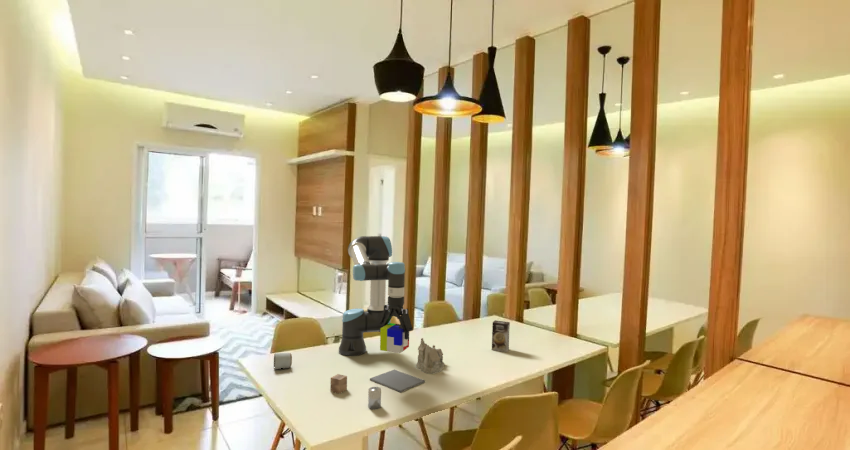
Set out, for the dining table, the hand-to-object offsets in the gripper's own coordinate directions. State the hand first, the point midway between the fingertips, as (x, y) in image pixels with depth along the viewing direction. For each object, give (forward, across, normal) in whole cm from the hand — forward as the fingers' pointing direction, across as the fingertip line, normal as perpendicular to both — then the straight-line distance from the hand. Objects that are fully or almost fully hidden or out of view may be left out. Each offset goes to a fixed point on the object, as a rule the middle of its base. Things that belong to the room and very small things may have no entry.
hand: (395, 342), depth 194 cm
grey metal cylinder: (+18, +13, -23) cm, 32 cm away
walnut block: (+18, -10, -24) cm, 31 cm away
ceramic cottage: (+19, 0, +27) cm, 33 cm away
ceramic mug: (+19, -53, -26) cm, 62 cm away
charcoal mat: (+18, 0, +2) cm, 18 cm away
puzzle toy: (+3, 0, 0) cm, 3 cm away
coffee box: (+19, +9, +77) cm, 79 cm away
